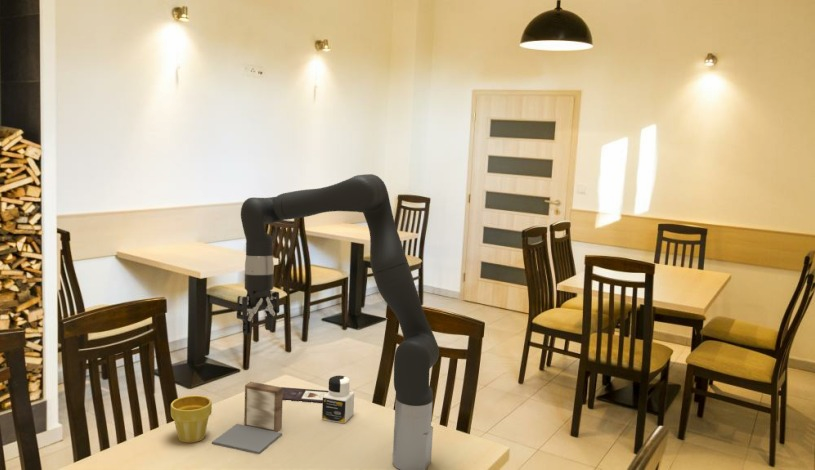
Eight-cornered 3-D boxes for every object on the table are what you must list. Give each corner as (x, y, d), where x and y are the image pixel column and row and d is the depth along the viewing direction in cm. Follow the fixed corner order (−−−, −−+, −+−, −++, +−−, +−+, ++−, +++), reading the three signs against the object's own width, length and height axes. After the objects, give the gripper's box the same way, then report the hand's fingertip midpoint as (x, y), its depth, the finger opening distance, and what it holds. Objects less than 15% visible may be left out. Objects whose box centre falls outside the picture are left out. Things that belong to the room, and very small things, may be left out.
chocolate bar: (279, 386, 215) (334, 391, 214) (279, 389, 216) (334, 394, 214) (271, 397, 207) (329, 402, 205) (271, 400, 207) (329, 405, 206)
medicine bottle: (321, 419, 194) (323, 380, 192) (331, 410, 201) (332, 372, 199) (344, 424, 192) (346, 383, 190) (353, 414, 199) (355, 375, 197)
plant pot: (162, 437, 178) (162, 401, 177) (197, 425, 186) (197, 391, 185) (184, 450, 172) (184, 413, 170) (219, 437, 179) (219, 402, 178)
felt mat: (282, 435, 183) (282, 432, 183) (259, 454, 172) (259, 451, 171) (236, 425, 187) (236, 423, 187) (211, 443, 176) (211, 441, 176)
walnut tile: (281, 428, 187) (282, 387, 185) (276, 433, 184) (277, 391, 182) (249, 422, 190) (250, 381, 188) (243, 426, 187) (244, 385, 185)
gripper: (251, 275, 172) (250, 338, 173) (287, 271, 185) (286, 329, 185) (229, 273, 176) (229, 335, 177) (266, 269, 188) (265, 326, 189)
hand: (258, 332), depth 181 cm, fingers open, 8 cm apart
